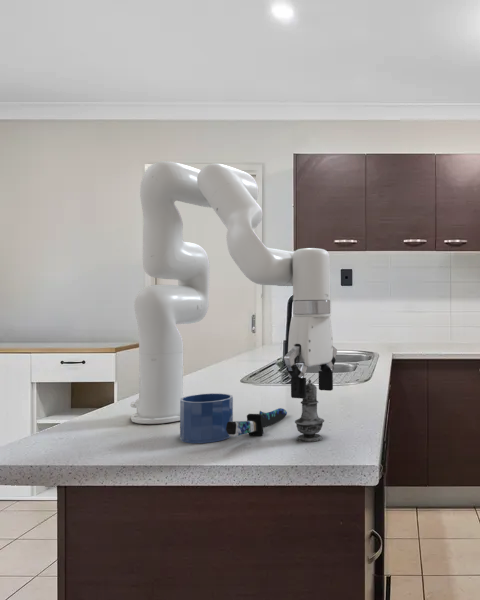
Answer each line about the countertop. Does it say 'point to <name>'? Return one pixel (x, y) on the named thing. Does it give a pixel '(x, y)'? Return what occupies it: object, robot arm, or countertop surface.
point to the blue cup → (205, 417)
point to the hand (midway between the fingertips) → (312, 393)
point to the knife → (255, 423)
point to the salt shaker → (309, 417)
